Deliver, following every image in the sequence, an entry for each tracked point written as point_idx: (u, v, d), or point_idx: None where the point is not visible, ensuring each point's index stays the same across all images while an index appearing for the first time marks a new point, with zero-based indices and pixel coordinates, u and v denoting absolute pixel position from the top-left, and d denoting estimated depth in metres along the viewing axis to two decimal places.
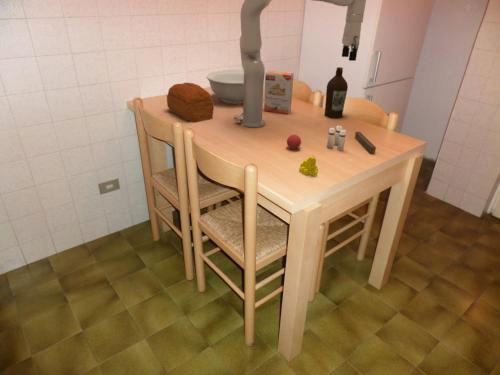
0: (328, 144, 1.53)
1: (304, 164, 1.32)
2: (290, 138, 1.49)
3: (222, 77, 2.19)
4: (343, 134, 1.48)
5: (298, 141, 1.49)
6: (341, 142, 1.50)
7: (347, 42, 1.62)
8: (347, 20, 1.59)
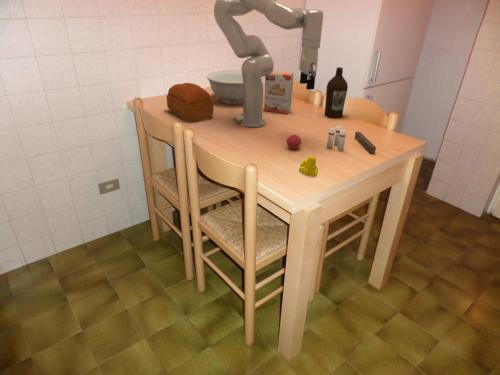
0: (328, 144, 1.53)
1: (304, 164, 1.32)
2: (290, 138, 1.49)
3: (222, 77, 2.19)
4: (343, 134, 1.48)
5: (298, 141, 1.49)
6: (341, 142, 1.50)
7: (304, 70, 1.46)
8: (303, 45, 1.43)
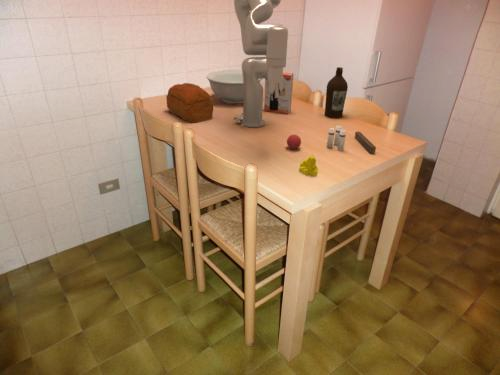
0: (328, 144, 1.53)
1: (304, 164, 1.32)
2: (290, 138, 1.49)
3: (222, 77, 2.19)
4: (343, 134, 1.48)
5: (298, 141, 1.49)
6: (341, 142, 1.50)
7: (268, 90, 1.36)
8: (267, 64, 1.33)
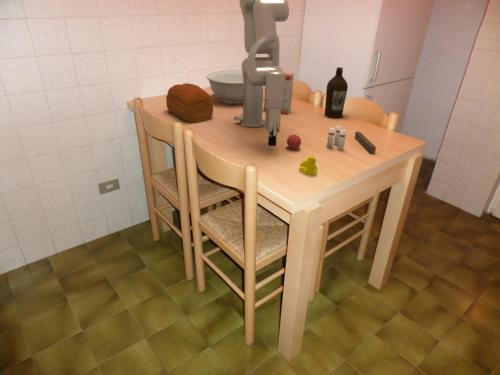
0: (328, 144, 1.53)
1: (304, 164, 1.32)
2: (290, 138, 1.49)
3: (222, 77, 2.19)
4: (343, 134, 1.48)
5: (298, 141, 1.49)
6: (341, 142, 1.50)
7: (267, 128, 1.44)
8: (265, 105, 1.41)
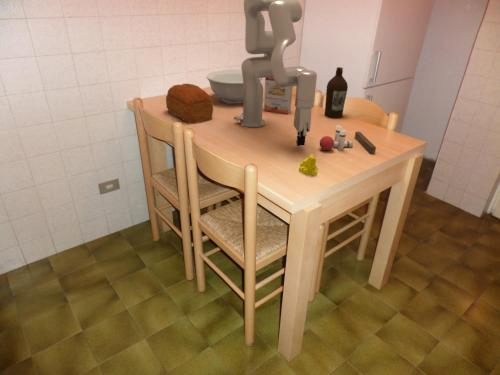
0: (337, 143, 1.53)
1: (304, 164, 1.32)
2: None
3: (222, 77, 2.19)
4: (343, 134, 1.48)
5: (323, 145, 1.49)
6: (341, 142, 1.50)
7: (297, 128, 1.45)
8: (296, 105, 1.43)
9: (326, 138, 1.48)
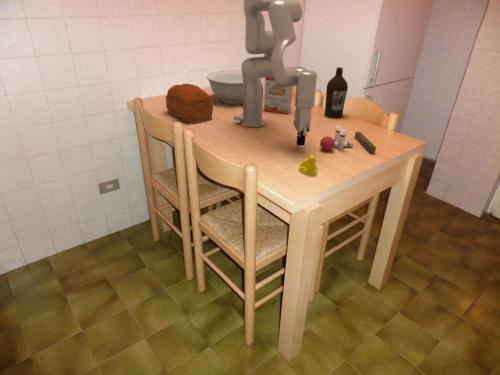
0: (337, 143, 1.53)
1: (304, 164, 1.32)
2: None
3: (222, 77, 2.19)
4: (343, 134, 1.48)
5: (324, 145, 1.48)
6: (341, 142, 1.50)
7: (297, 128, 1.45)
8: (296, 105, 1.43)
9: (327, 139, 1.48)
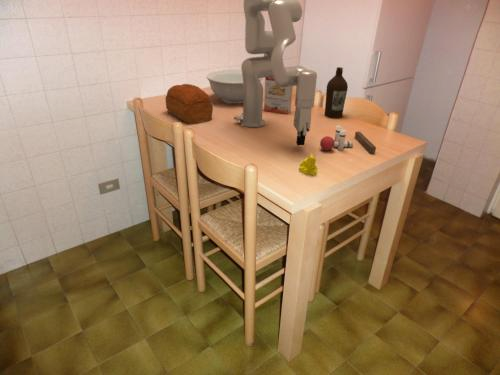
0: (337, 143, 1.53)
1: (304, 164, 1.32)
2: None
3: (222, 77, 2.19)
4: (343, 134, 1.48)
5: (324, 145, 1.48)
6: (341, 142, 1.50)
7: (297, 128, 1.45)
8: (296, 105, 1.43)
9: (327, 139, 1.48)
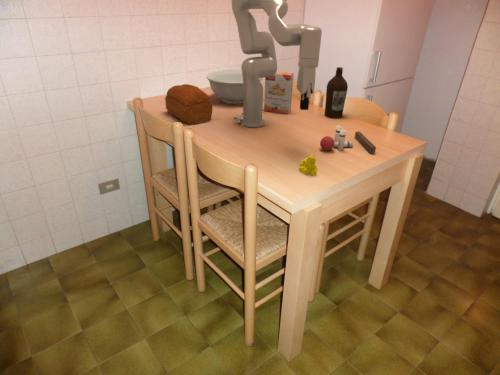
0: (337, 143, 1.53)
1: (303, 164, 1.33)
2: None
3: (222, 77, 2.19)
4: (343, 134, 1.48)
5: (324, 145, 1.48)
6: (341, 142, 1.50)
7: (300, 90, 1.38)
8: (299, 64, 1.35)
9: (327, 139, 1.48)
